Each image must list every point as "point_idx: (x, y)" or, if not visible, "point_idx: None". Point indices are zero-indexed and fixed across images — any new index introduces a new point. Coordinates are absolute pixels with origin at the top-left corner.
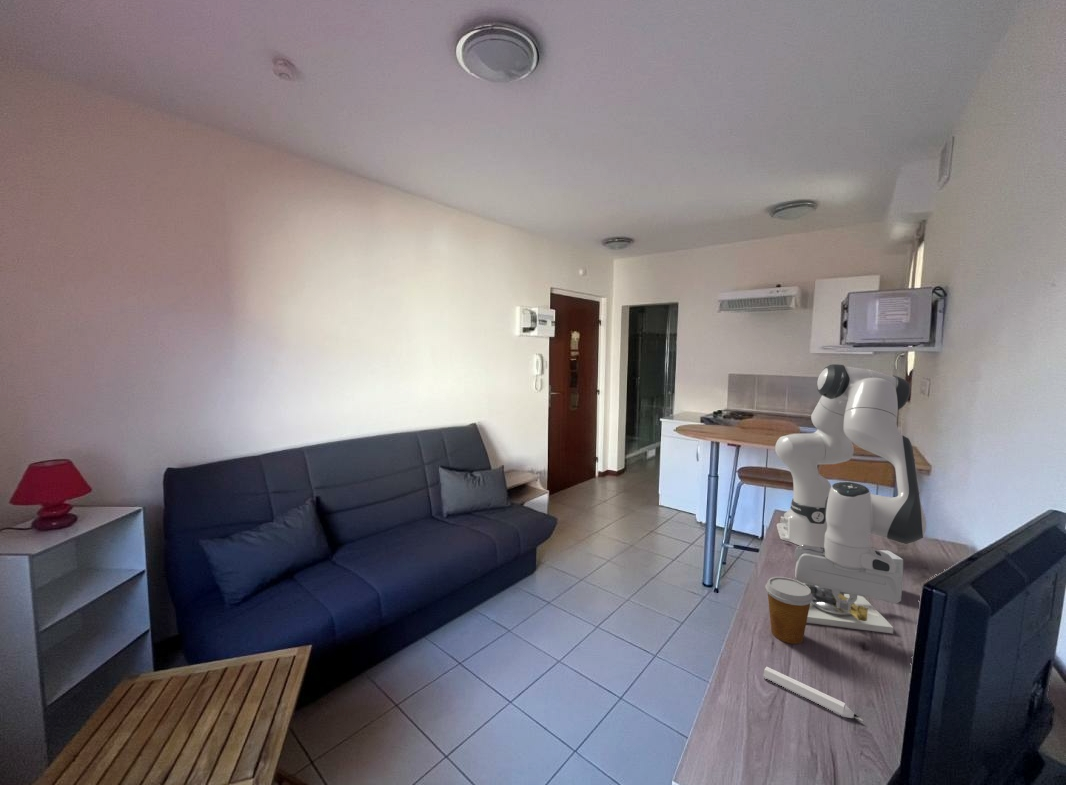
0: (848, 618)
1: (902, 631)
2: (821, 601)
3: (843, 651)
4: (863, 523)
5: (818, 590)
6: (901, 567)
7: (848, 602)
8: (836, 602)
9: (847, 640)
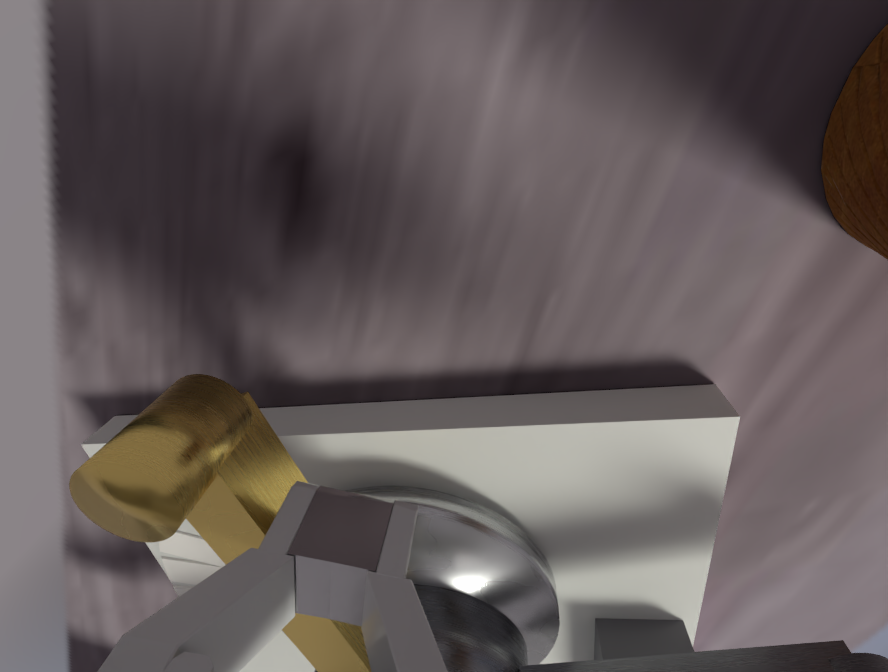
0: (337, 472)
1: (73, 449)
2: (486, 598)
3: (484, 17)
4: None
5: None
6: None
7: (275, 576)
8: None
9: (401, 237)
